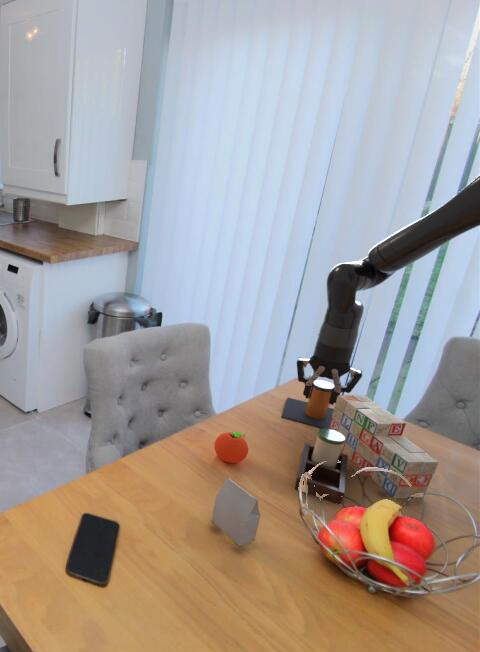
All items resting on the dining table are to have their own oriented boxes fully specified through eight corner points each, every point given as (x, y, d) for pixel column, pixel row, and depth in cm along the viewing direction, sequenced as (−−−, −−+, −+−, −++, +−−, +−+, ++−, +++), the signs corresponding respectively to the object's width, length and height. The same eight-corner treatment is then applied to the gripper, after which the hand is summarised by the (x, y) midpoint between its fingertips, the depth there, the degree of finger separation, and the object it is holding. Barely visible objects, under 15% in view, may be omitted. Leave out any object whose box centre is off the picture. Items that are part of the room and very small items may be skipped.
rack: (344, 467, 108) (347, 455, 107) (340, 506, 97) (344, 493, 96) (301, 454, 113) (305, 442, 111) (293, 490, 102) (297, 477, 101)
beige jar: (335, 467, 108) (345, 433, 104) (333, 478, 104) (344, 444, 101) (309, 459, 110) (319, 426, 107) (307, 470, 107) (317, 436, 104)
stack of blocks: (424, 499, 98) (444, 449, 94) (392, 499, 98) (411, 449, 94) (350, 437, 118) (364, 393, 113) (324, 437, 118) (337, 394, 114)
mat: (349, 414, 127) (349, 412, 127) (347, 436, 118) (347, 434, 118) (287, 399, 135) (287, 397, 135) (280, 418, 127) (281, 416, 126)
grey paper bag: (239, 546, 89) (249, 503, 85) (211, 520, 95) (219, 479, 91) (254, 540, 90) (265, 498, 86) (225, 515, 96) (234, 475, 92)
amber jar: (327, 413, 127) (335, 383, 124) (325, 421, 123) (334, 390, 120) (305, 407, 130) (313, 378, 126) (303, 415, 126) (311, 385, 123)
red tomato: (227, 446, 116) (232, 421, 114) (255, 461, 111) (261, 436, 108) (205, 456, 113) (210, 431, 110) (232, 473, 107) (238, 447, 105)
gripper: (300, 339, 120) (285, 398, 126) (373, 352, 112) (353, 415, 118) (303, 329, 125) (289, 386, 132) (373, 342, 117) (354, 402, 124)
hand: (319, 399), depth 125 cm, fingers closed on amber jar, 4 cm apart
